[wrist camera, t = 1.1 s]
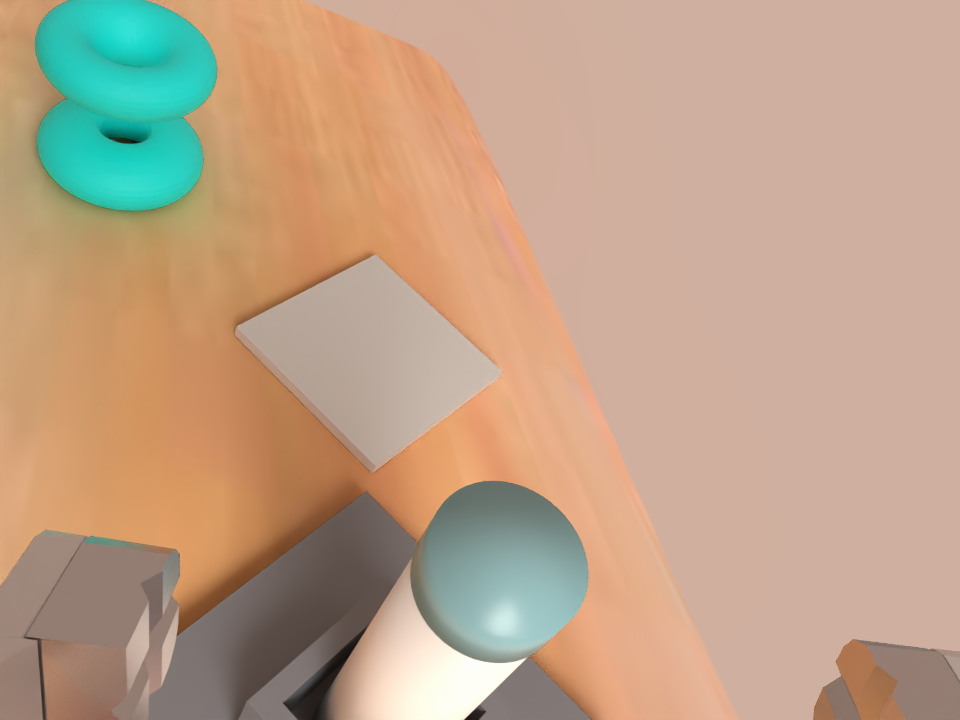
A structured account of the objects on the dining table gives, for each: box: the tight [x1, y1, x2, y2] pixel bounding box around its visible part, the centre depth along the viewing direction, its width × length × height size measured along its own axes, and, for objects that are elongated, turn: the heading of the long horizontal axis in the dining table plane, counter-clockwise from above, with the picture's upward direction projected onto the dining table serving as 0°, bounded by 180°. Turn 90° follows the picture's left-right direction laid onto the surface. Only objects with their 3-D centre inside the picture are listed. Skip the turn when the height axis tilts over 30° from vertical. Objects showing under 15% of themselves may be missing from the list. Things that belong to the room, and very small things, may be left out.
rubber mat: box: [234, 254, 502, 473], centre depth 56 cm, size 12×12×1 cm
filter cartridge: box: [312, 481, 588, 720], centre depth 34 cm, size 5×5×18 cm
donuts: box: [35, 0, 217, 211], centre depth 55 cm, size 10×10×10 cm
